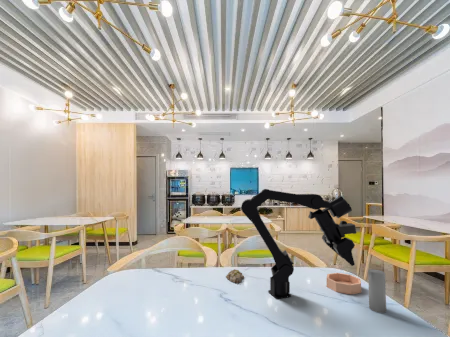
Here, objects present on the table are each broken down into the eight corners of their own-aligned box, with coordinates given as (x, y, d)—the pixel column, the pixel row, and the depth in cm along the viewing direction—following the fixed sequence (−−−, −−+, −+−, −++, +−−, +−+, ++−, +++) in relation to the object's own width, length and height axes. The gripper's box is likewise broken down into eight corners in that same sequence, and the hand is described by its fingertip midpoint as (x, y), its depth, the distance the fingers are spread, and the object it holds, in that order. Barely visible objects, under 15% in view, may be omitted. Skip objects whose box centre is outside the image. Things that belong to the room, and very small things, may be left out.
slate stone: (378, 313, 82) (377, 275, 83) (365, 306, 86) (364, 270, 87) (389, 311, 83) (388, 273, 84) (376, 304, 88) (375, 268, 89)
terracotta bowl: (343, 295, 95) (343, 286, 95) (320, 283, 107) (320, 274, 107) (368, 291, 99) (368, 282, 99) (343, 279, 111) (343, 271, 111)
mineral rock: (224, 269, 116) (240, 264, 117) (226, 278, 116) (243, 273, 117) (226, 279, 105) (244, 273, 106) (228, 289, 105) (246, 283, 106)
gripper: (356, 217, 86) (380, 258, 84) (337, 211, 104) (357, 245, 102) (327, 232, 86) (350, 273, 85) (313, 224, 105) (332, 258, 103)
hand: (348, 261), depth 94 cm, fingers open, 9 cm apart
